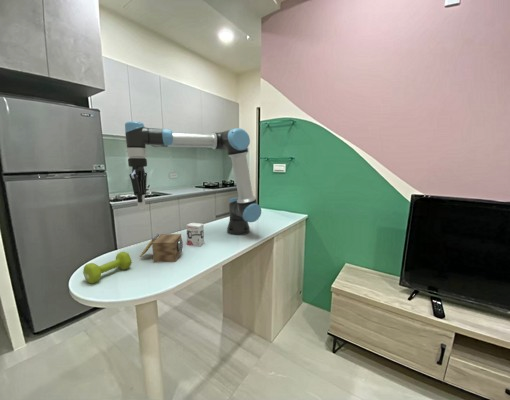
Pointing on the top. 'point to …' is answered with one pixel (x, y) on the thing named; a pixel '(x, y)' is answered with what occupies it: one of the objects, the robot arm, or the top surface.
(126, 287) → the top surface
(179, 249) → the pin
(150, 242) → the tan flat board
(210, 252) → the top surface
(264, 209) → the top surface
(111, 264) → the dumbbell
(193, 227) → the ink box
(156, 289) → the top surface
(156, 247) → the block
